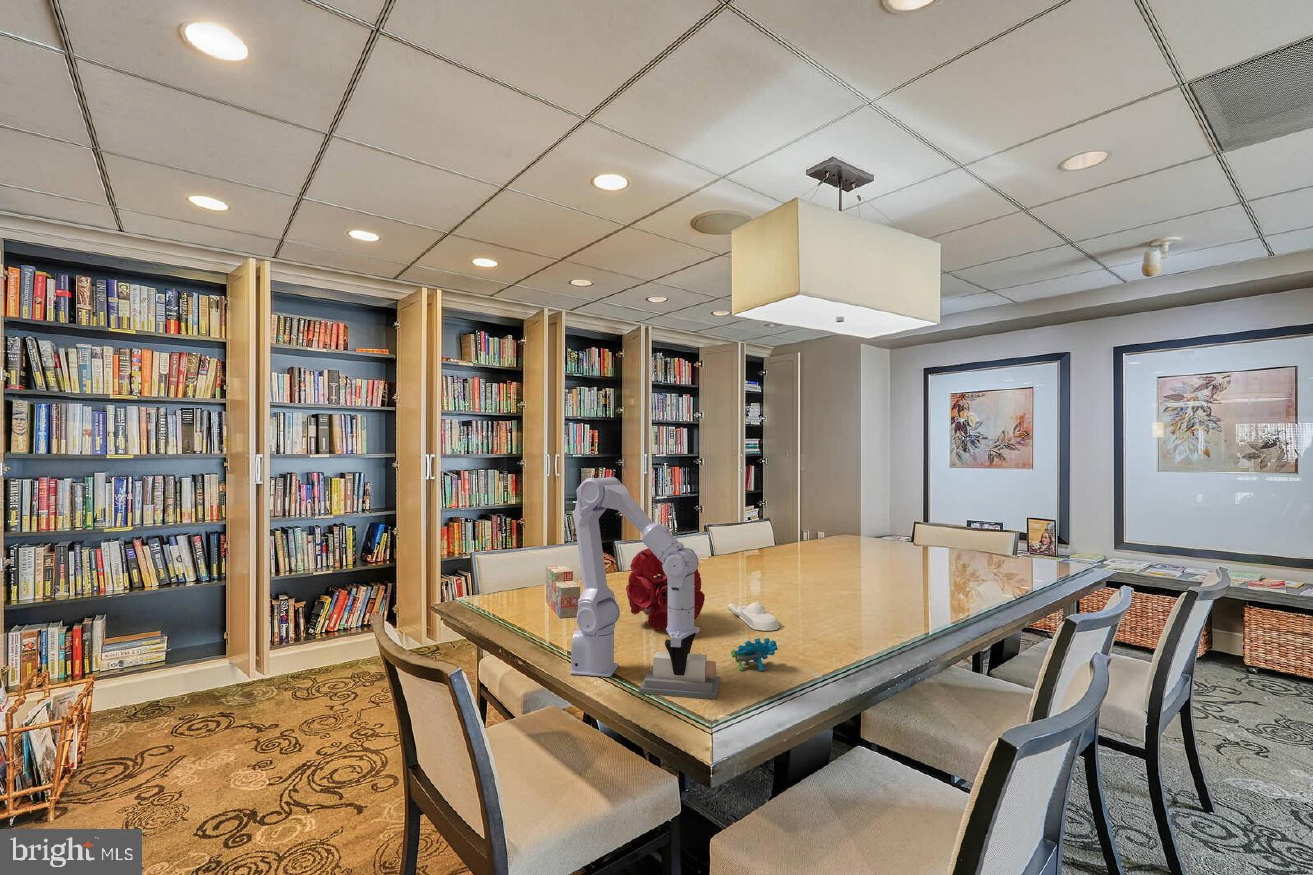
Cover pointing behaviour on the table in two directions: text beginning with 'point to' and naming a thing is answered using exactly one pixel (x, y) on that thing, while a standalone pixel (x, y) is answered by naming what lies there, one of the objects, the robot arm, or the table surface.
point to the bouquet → (655, 589)
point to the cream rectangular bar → (695, 668)
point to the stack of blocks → (562, 591)
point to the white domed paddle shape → (755, 616)
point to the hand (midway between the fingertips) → (680, 670)
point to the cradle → (680, 687)
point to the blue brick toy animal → (754, 652)
